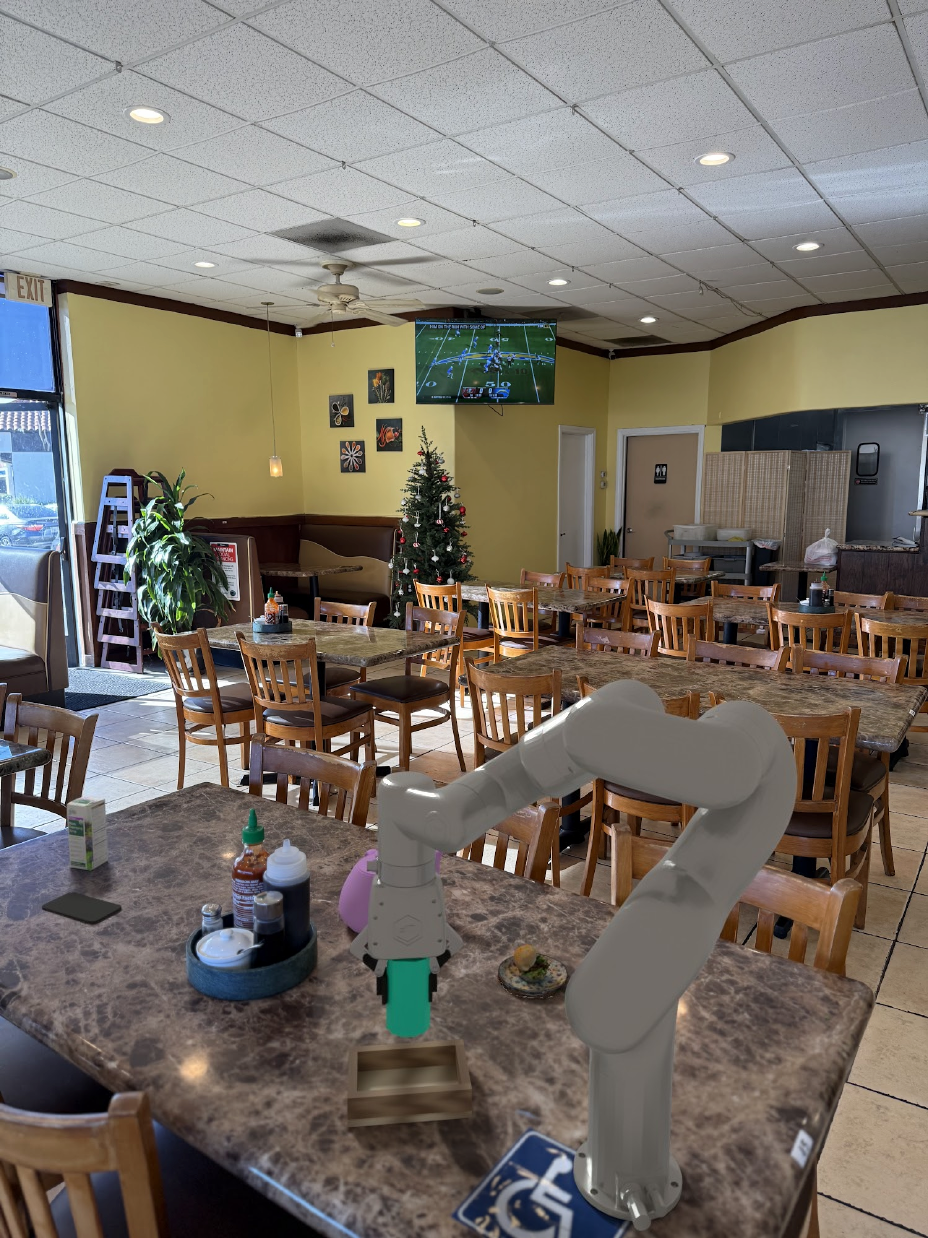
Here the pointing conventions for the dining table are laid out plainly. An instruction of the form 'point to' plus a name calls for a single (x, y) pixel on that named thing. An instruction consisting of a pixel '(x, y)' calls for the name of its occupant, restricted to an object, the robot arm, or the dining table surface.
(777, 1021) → the dining table surface
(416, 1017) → the candle
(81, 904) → the phone
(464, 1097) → the tray
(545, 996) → the plate of food
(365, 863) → the teapot
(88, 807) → the syrup box
